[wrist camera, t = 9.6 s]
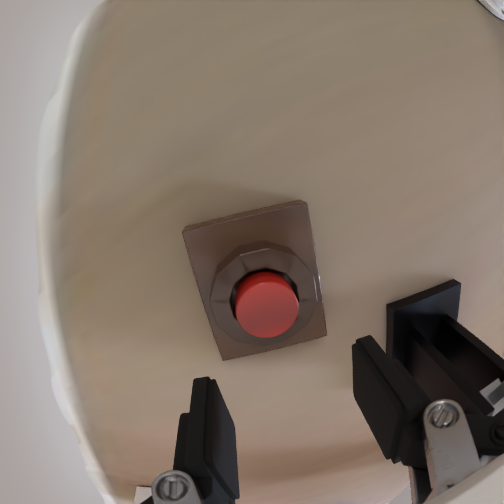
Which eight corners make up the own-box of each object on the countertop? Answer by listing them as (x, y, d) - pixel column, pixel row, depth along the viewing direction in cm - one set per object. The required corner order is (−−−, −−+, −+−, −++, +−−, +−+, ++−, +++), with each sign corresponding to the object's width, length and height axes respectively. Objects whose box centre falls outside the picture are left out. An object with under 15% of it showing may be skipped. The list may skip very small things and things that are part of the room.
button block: (185, 226, 19) (176, 238, 16) (300, 199, 20) (315, 205, 16) (222, 348, 22) (222, 376, 19) (320, 324, 22) (334, 348, 19)
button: (228, 279, 17) (228, 290, 16) (287, 265, 17) (293, 275, 16) (242, 329, 18) (244, 344, 17) (296, 316, 18) (303, 329, 17)
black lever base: (386, 304, 22) (481, 398, 10) (453, 278, 23) (550, 341, 10) (383, 386, 25) (441, 476, 13) (443, 359, 25) (509, 429, 13)
